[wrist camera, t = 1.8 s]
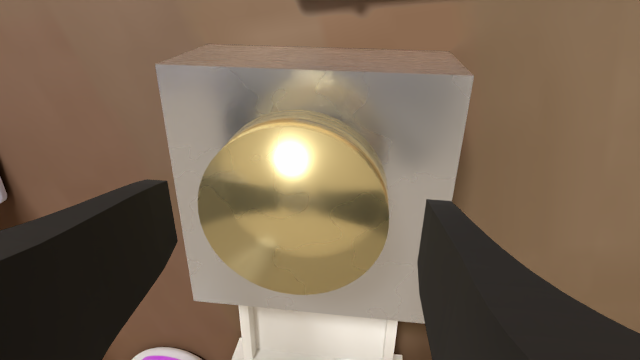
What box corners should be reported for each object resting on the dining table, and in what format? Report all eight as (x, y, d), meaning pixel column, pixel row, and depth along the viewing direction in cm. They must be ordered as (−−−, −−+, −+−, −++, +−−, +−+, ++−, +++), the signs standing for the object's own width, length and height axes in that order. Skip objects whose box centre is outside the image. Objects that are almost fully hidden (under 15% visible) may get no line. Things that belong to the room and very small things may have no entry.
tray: (241, 350, 25) (222, 403, 22) (225, 202, 20) (198, 242, 17) (400, 368, 24) (404, 426, 21) (421, 216, 19) (430, 262, 16)
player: (228, 240, 22) (177, 329, 16) (207, 44, 17) (128, 74, 12) (419, 255, 21) (435, 356, 15) (449, 51, 16) (486, 88, 11)
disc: (225, 255, 14) (208, 286, 13) (208, 105, 12) (185, 121, 10) (380, 269, 14) (381, 302, 12) (395, 113, 11) (398, 133, 10)
